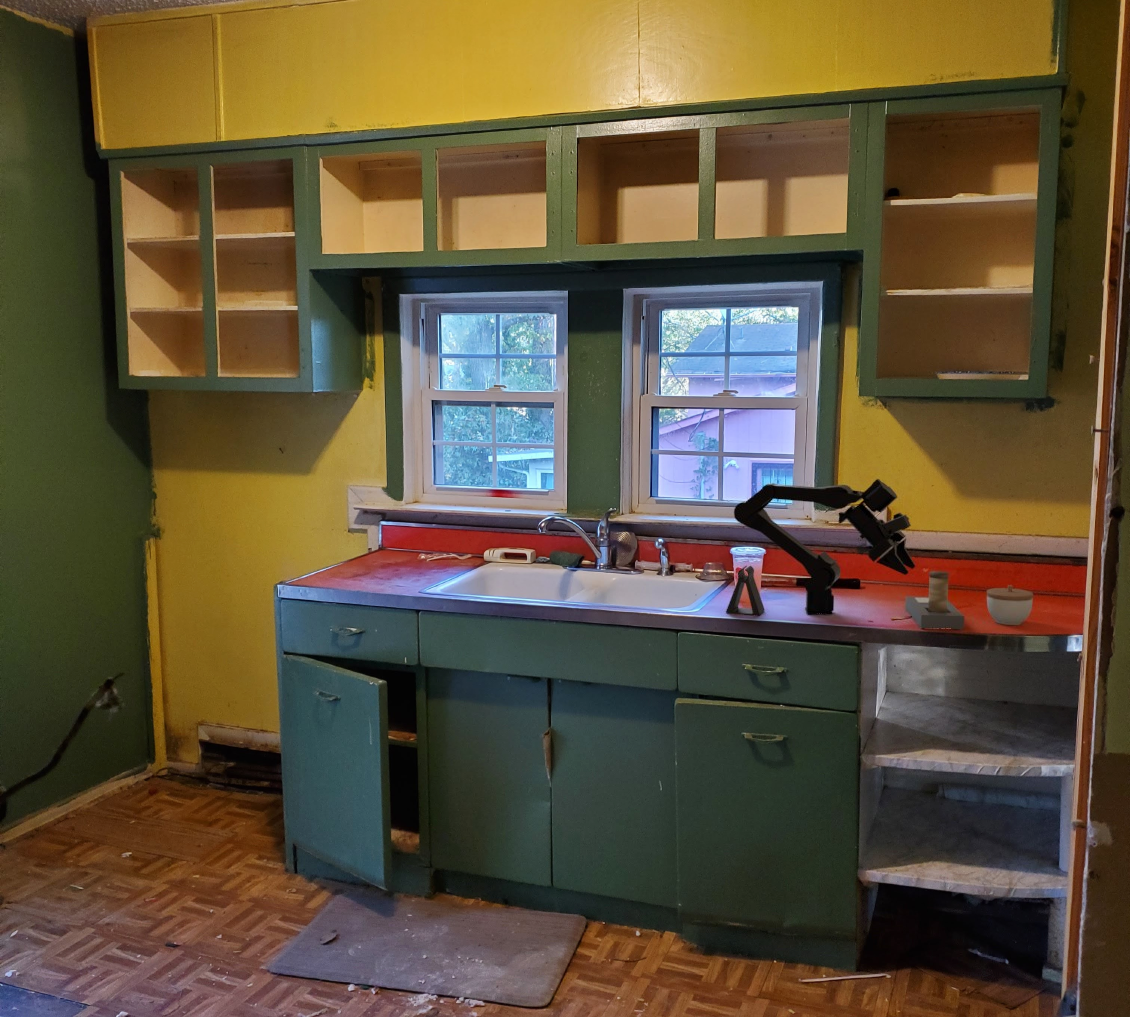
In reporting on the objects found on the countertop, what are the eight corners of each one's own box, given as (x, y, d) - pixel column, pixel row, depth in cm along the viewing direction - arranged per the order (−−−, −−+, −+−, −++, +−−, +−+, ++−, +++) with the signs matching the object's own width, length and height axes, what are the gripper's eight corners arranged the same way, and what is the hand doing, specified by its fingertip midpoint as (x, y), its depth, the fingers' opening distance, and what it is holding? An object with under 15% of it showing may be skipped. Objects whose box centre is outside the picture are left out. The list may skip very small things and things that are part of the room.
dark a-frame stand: (764, 611, 277) (765, 566, 276) (759, 616, 272) (760, 570, 270) (731, 608, 281) (731, 564, 279) (725, 613, 275) (726, 568, 274)
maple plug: (929, 625, 260) (931, 574, 258) (925, 621, 264) (927, 570, 263) (948, 626, 259) (950, 574, 257) (944, 622, 263) (946, 571, 262)
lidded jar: (1034, 628, 256) (1036, 590, 255) (988, 626, 259) (989, 588, 258) (1028, 618, 267) (1030, 582, 265) (983, 616, 269) (984, 580, 268)
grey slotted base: (920, 629, 256) (921, 614, 256) (905, 609, 278) (905, 595, 277) (963, 630, 255) (964, 615, 254) (944, 610, 276) (944, 596, 276)
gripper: (883, 507, 255) (928, 555, 252) (898, 499, 272) (941, 544, 268) (849, 537, 260) (894, 584, 256) (866, 527, 276) (908, 572, 273)
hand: (910, 570), depth 263 cm, fingers open, 9 cm apart
